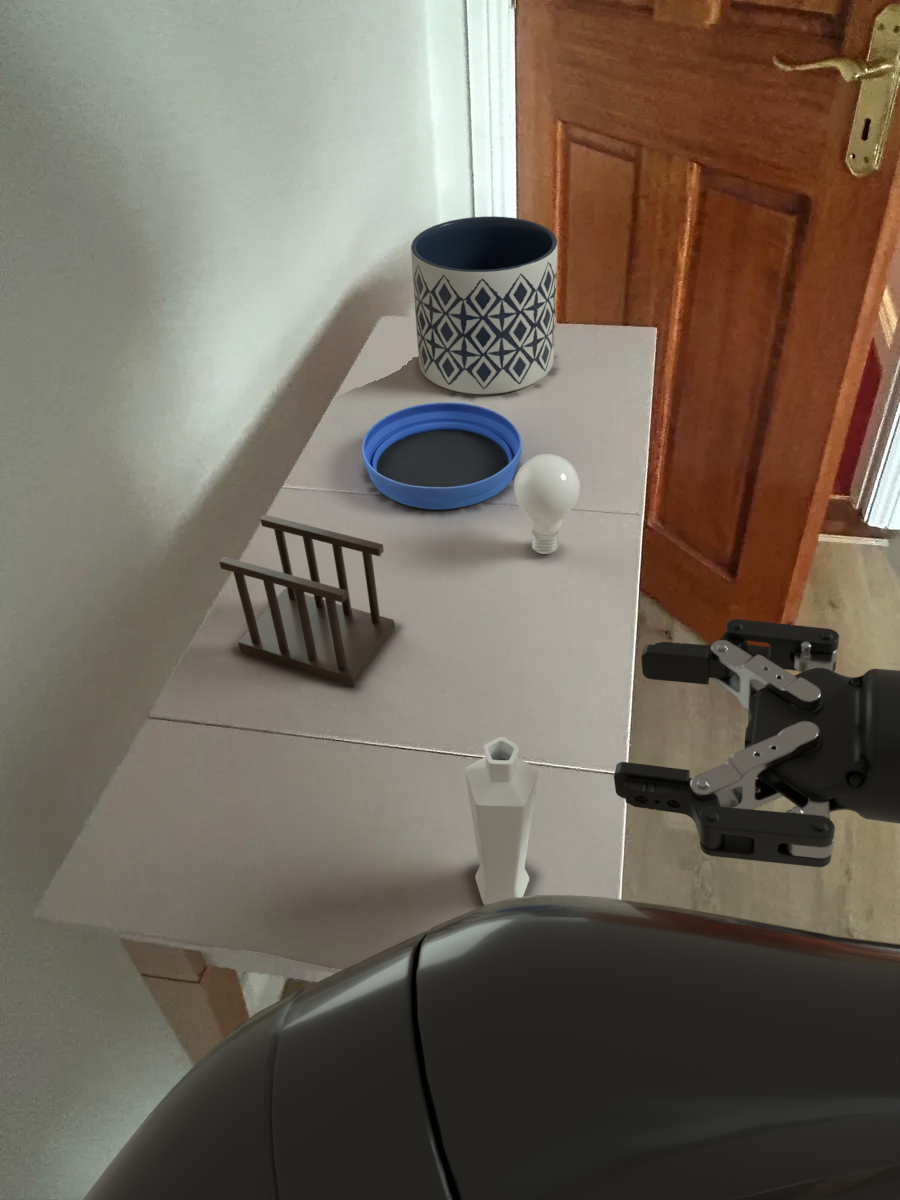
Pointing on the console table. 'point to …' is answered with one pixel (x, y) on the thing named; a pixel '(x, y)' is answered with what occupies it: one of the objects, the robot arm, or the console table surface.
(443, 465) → the bowl
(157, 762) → the console table surface
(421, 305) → the planter
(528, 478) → the lightbulb
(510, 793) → the perfume bottle
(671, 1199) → the robot arm
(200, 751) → the console table surface
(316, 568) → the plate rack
